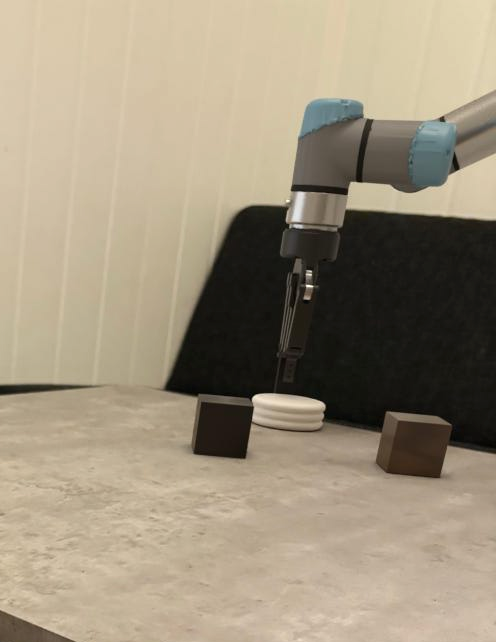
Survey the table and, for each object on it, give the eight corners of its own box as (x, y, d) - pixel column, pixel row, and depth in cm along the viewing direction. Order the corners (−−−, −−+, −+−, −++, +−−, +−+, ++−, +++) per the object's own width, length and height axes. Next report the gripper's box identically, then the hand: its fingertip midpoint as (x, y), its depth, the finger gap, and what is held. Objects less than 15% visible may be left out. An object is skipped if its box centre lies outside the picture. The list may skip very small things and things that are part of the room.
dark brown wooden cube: (426, 466, 121) (438, 416, 118) (440, 478, 115) (452, 425, 113) (375, 461, 121) (386, 411, 119) (386, 472, 115) (398, 420, 113)
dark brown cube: (240, 448, 122) (249, 398, 120) (245, 458, 117) (254, 406, 114) (191, 443, 123) (198, 393, 120) (193, 453, 117) (201, 401, 115)
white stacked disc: (234, 419, 141) (238, 394, 140) (276, 415, 147) (281, 391, 146) (293, 433, 134) (298, 407, 133) (335, 429, 141) (340, 403, 139)
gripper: (278, 226, 143) (251, 395, 152) (291, 225, 131) (260, 409, 140) (332, 230, 142) (301, 400, 151) (349, 230, 130) (315, 414, 139)
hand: (281, 404), depth 146 cm, fingers closed
